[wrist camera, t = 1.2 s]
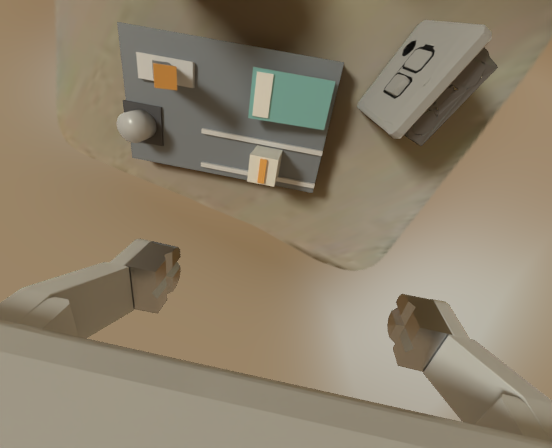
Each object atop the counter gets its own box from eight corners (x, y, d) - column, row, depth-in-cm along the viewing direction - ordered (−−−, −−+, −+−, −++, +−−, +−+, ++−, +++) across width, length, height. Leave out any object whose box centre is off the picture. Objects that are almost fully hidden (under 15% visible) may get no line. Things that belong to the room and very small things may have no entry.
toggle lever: (150, 58, 27) (153, 63, 22) (170, 61, 28) (176, 67, 23) (152, 78, 28) (154, 87, 23) (170, 81, 29) (177, 90, 24)
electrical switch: (421, 18, 26) (475, 7, 19) (456, 53, 28) (520, 56, 20) (354, 105, 31) (375, 125, 23) (387, 131, 32) (418, 159, 24)
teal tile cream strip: (248, 116, 29) (248, 118, 28) (253, 66, 27) (253, 67, 26) (322, 128, 30) (324, 130, 29) (333, 80, 27) (335, 81, 26)
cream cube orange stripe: (257, 145, 32) (249, 155, 28) (282, 150, 32) (278, 160, 28) (254, 169, 33) (246, 182, 30) (278, 174, 33) (273, 187, 30)
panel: (129, 25, 30) (110, 20, 27) (342, 63, 29) (344, 62, 26) (141, 152, 37) (127, 158, 34) (312, 185, 36) (312, 195, 33)
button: (128, 107, 31) (114, 109, 29) (155, 112, 31) (144, 115, 29) (131, 135, 33) (118, 139, 31) (157, 140, 33) (146, 145, 31)
